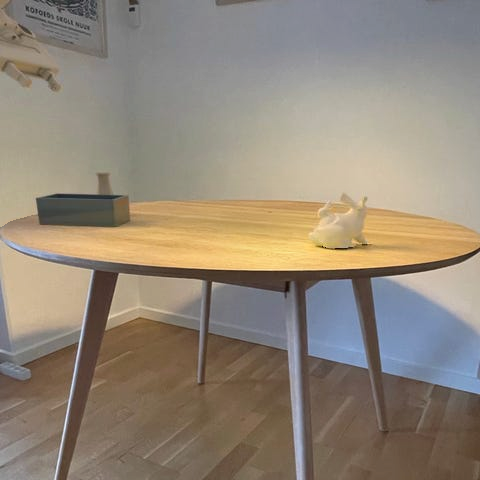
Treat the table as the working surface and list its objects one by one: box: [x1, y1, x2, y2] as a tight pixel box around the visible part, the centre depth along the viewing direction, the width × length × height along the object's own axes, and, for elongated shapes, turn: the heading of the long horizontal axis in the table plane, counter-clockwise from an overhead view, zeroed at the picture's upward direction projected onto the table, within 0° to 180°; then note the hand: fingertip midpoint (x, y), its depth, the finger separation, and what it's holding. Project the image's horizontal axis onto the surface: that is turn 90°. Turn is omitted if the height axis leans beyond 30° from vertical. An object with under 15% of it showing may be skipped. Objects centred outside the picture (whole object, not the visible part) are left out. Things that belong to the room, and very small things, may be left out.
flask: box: [95, 171, 114, 195], centre depth 111 cm, size 7×7×10 cm
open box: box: [35, 192, 131, 228], centre depth 103 cm, size 17×9×6 cm, turn 83°
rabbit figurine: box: [308, 191, 371, 249], centre depth 81 cm, size 12×8×10 cm, turn 89°
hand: (43, 87), depth 98 cm, fingers open, 8 cm apart
